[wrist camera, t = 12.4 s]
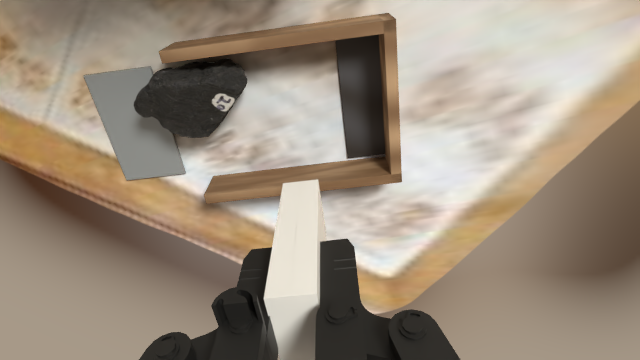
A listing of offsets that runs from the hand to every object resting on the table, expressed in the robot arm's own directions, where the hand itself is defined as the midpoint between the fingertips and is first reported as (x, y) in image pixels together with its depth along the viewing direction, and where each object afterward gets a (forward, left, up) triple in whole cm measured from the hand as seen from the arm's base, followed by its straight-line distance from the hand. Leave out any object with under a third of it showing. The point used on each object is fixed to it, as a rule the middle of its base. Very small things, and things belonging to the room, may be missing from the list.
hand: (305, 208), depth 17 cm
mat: (+6, -23, -32) cm, 40 cm away
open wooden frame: (+6, -4, -32) cm, 33 cm away
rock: (0, -18, -32) cm, 37 cm away
